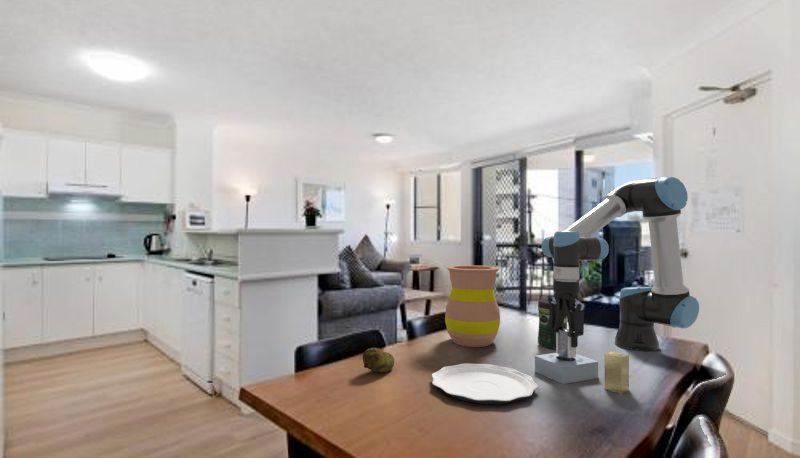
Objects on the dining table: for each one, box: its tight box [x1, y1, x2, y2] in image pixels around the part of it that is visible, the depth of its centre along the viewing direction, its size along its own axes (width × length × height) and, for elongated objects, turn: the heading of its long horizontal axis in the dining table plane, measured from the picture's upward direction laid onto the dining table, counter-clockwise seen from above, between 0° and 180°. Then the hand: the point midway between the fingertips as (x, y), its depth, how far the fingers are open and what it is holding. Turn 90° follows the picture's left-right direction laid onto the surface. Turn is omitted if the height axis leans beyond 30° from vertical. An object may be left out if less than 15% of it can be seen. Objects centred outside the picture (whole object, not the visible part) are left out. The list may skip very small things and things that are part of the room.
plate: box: [430, 362, 539, 405], centre depth 120 cm, size 29×29×2 cm
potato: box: [362, 347, 395, 374], centre depth 132 cm, size 8×13×8 cm, turn 127°
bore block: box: [534, 352, 599, 385], centre depth 131 cm, size 14×12×5 cm
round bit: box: [559, 328, 573, 361], centre depth 131 cm, size 4×4×12 cm
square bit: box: [604, 350, 630, 395], centre depth 119 cm, size 5×5×10 cm
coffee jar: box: [537, 297, 556, 350], centre depth 163 cm, size 10×8×19 cm
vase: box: [444, 264, 501, 348], centre depth 169 cm, size 22×22×30 cm
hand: (566, 354), depth 131 cm, fingers closed on round bit, 4 cm apart
